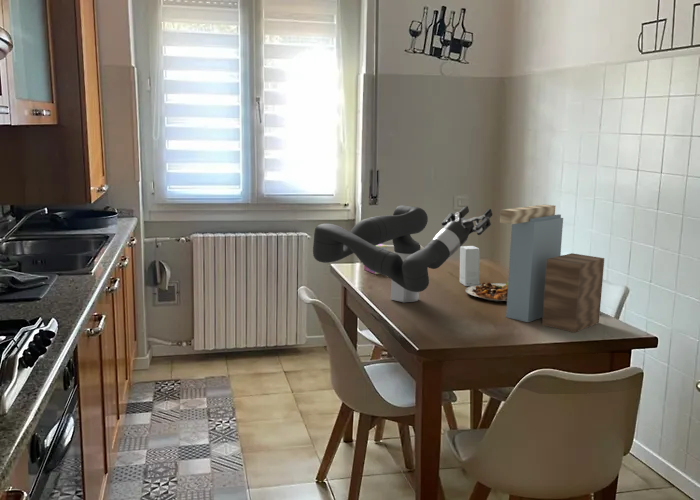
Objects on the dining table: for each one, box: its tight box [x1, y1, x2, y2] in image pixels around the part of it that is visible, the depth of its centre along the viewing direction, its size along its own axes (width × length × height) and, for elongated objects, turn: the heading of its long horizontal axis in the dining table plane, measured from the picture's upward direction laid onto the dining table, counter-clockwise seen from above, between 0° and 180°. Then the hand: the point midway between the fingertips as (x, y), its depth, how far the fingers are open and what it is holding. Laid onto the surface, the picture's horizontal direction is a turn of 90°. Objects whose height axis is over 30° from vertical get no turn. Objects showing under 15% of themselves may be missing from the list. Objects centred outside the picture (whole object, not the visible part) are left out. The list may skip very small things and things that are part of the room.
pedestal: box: [505, 214, 564, 323], centre depth 228 cm, size 18×8×33 cm, turn 135°
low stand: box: [541, 252, 605, 333], centre depth 219 cm, size 16×11×21 cm
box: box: [363, 243, 388, 275], centre depth 294 cm, size 10×6×12 cm, turn 25°
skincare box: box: [459, 245, 481, 287], centre depth 273 cm, size 8×6×15 cm
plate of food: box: [464, 281, 508, 302], centre depth 256 cm, size 28×28×6 cm
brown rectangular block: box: [499, 204, 556, 225], centre depth 220 cm, size 26×4×4 cm, turn 135°
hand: (478, 209), depth 211 cm, fingers open, 8 cm apart
